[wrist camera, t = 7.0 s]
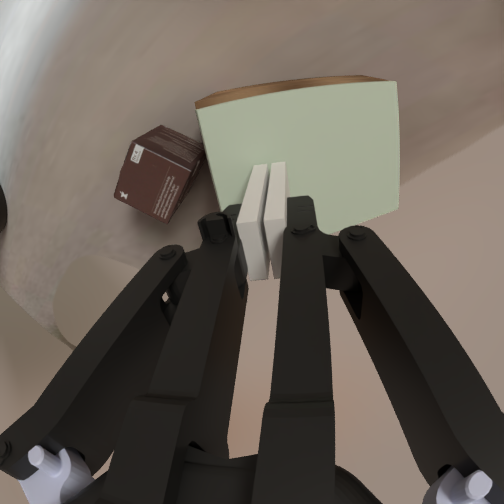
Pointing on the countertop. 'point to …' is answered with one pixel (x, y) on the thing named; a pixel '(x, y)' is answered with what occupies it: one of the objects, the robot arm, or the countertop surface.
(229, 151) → the lid
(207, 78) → the countertop surface
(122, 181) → the box
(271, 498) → the robot arm
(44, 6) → the countertop surface
